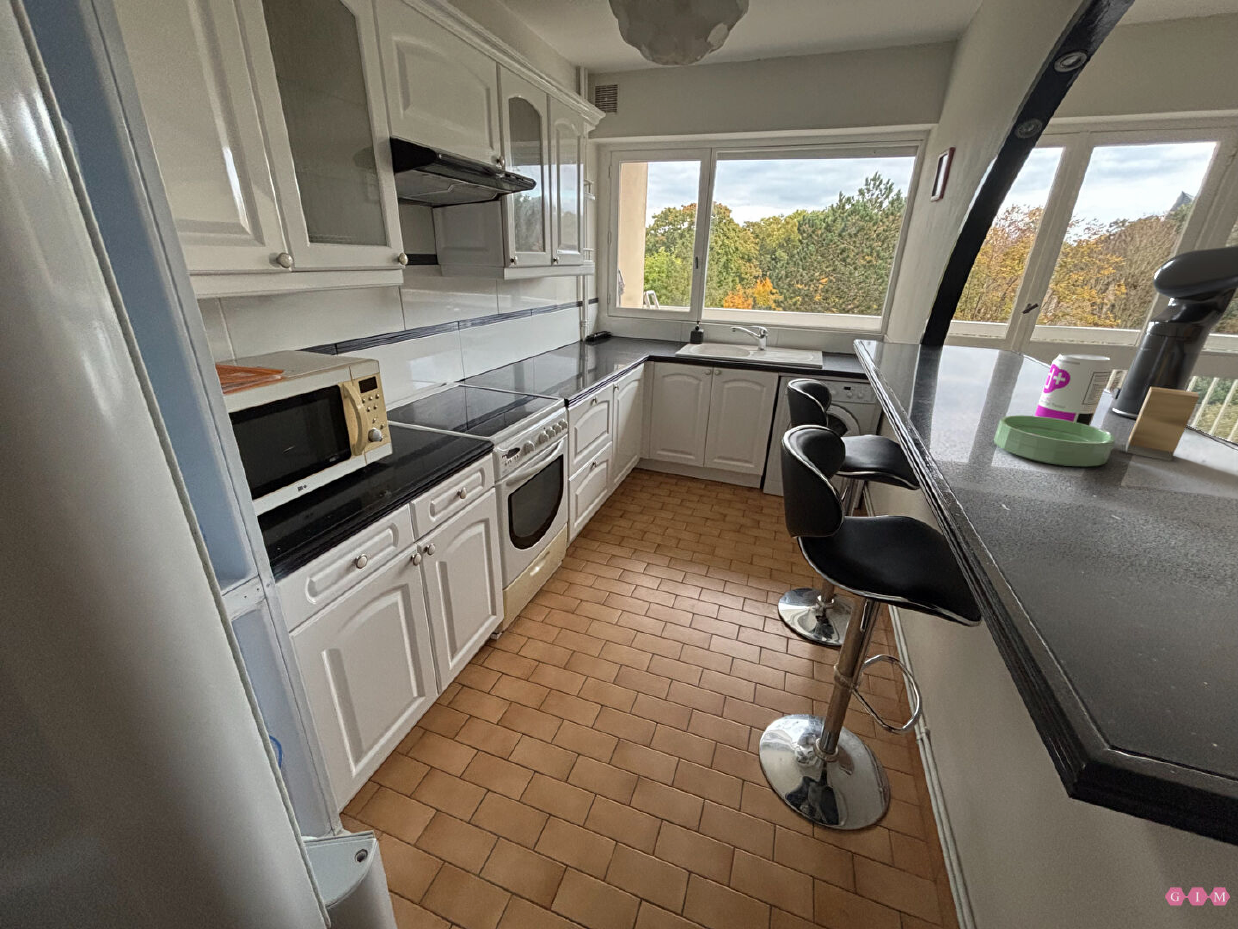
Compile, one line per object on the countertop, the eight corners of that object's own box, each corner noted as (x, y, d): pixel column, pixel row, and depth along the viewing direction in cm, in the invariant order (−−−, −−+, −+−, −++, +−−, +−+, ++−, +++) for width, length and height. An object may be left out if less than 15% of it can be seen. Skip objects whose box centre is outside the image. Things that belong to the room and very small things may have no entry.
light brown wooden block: (1125, 446, 91) (1150, 386, 87) (1168, 454, 88) (1196, 392, 84) (1125, 452, 88) (1151, 391, 84) (1170, 460, 85) (1199, 396, 81)
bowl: (986, 433, 97) (993, 411, 95) (1086, 446, 91) (1095, 422, 89) (1002, 459, 84) (1010, 434, 83) (1120, 476, 78) (1131, 449, 77)
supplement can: (1040, 439, 94) (1068, 358, 88) (1022, 426, 101) (1047, 351, 96) (1093, 444, 92) (1125, 361, 86) (1070, 431, 99) (1099, 354, 94)
